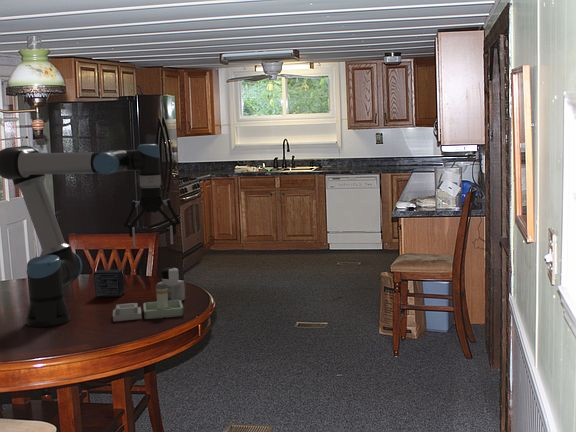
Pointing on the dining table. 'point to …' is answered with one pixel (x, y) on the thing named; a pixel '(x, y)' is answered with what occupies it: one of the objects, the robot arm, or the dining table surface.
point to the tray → (173, 310)
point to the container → (173, 284)
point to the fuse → (162, 296)
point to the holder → (126, 312)
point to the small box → (109, 283)
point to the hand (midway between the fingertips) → (153, 244)
